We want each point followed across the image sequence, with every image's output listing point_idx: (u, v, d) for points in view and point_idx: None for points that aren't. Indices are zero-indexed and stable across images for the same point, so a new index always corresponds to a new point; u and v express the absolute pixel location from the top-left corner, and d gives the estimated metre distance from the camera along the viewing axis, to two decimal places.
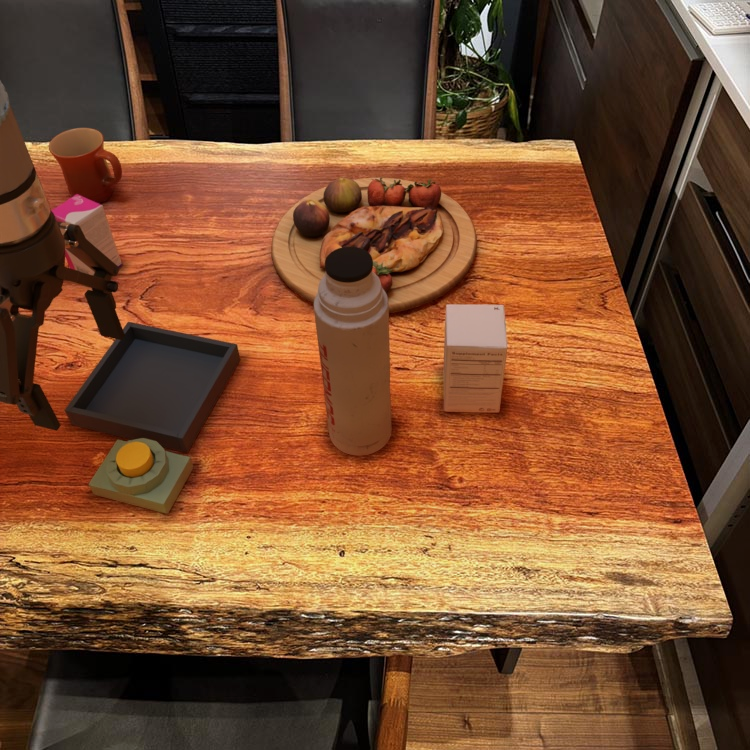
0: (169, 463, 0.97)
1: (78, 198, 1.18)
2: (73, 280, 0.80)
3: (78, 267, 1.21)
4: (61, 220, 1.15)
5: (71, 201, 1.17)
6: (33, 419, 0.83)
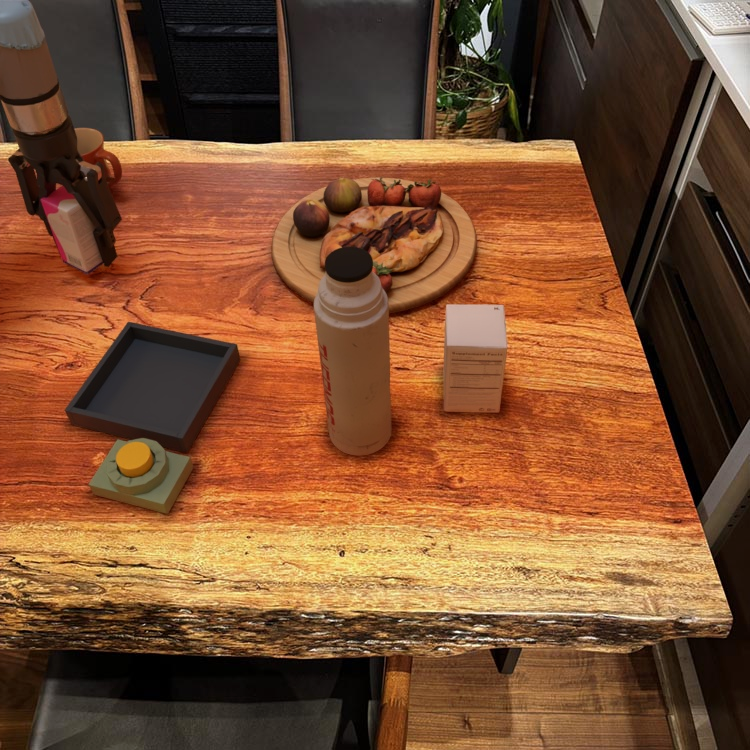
0: (169, 463, 0.97)
1: None
2: None
3: (69, 255, 1.19)
4: (54, 207, 1.13)
5: (64, 189, 1.15)
6: (107, 260, 1.20)
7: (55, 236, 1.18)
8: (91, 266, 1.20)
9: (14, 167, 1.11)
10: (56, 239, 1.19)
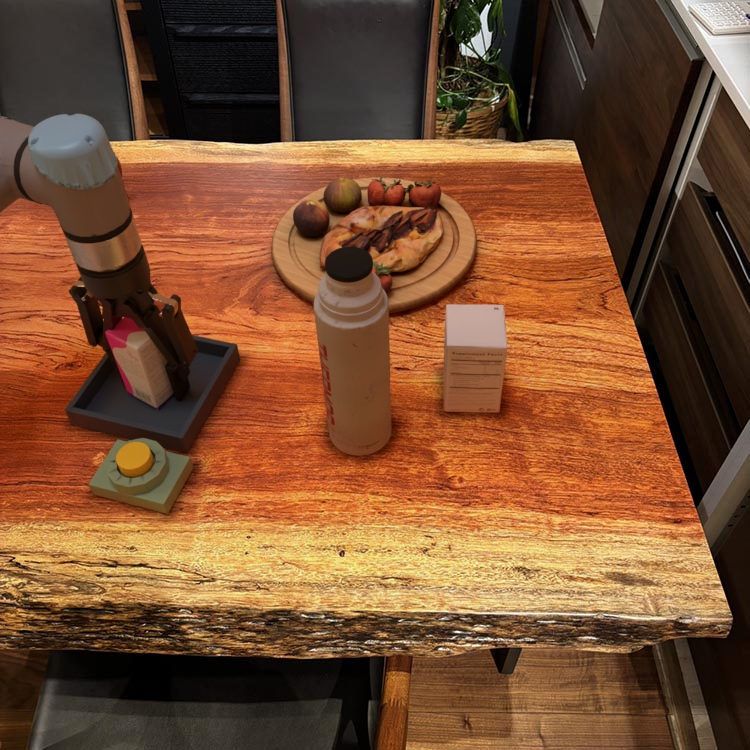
0: (169, 463, 0.97)
1: None
2: None
3: (137, 389, 1.03)
4: (121, 342, 0.97)
5: None
6: (180, 394, 1.04)
7: (121, 369, 1.02)
8: (162, 401, 1.04)
9: (75, 299, 0.96)
10: (122, 372, 1.03)
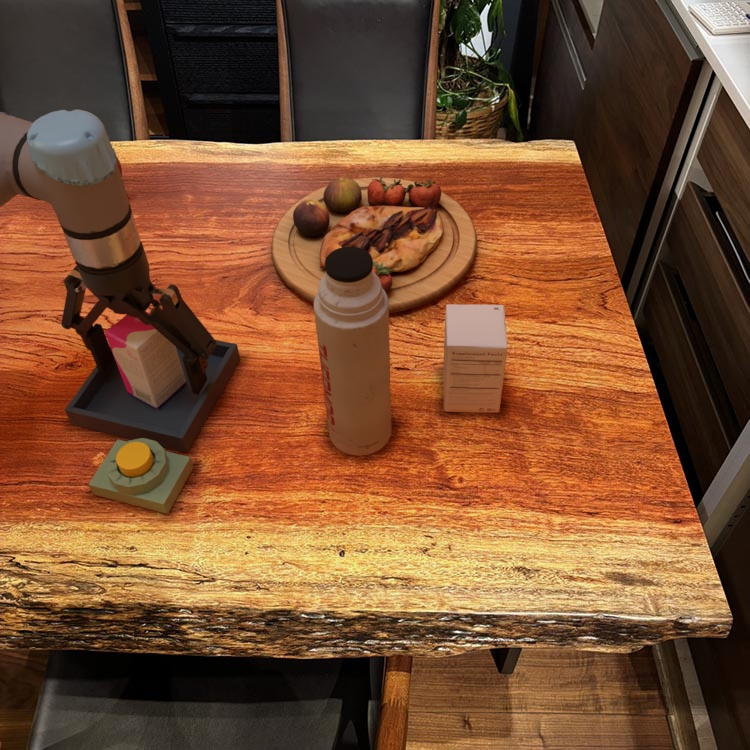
0: (169, 463, 0.97)
1: None
2: None
3: (137, 389, 1.03)
4: (121, 342, 0.97)
5: (131, 317, 1.00)
6: (197, 387, 1.02)
7: (120, 369, 1.02)
8: (162, 401, 1.04)
9: (68, 288, 0.95)
10: (121, 372, 1.03)
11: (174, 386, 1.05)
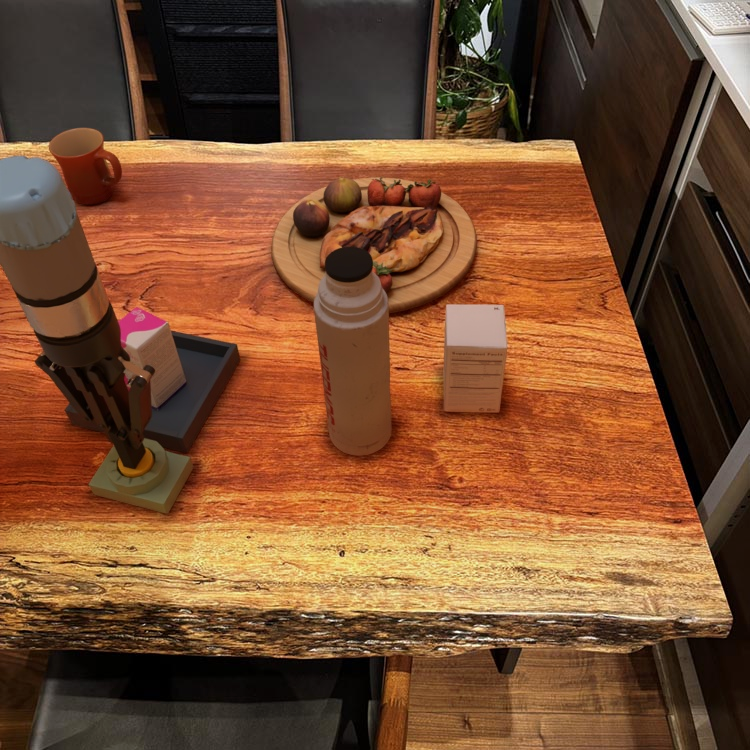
0: (169, 463, 0.97)
1: (139, 313, 1.00)
2: None
3: None
4: (121, 342, 0.97)
5: (131, 317, 1.00)
6: (133, 462, 0.93)
7: None
8: (162, 401, 1.04)
9: (45, 370, 0.83)
10: None
11: (174, 386, 1.05)
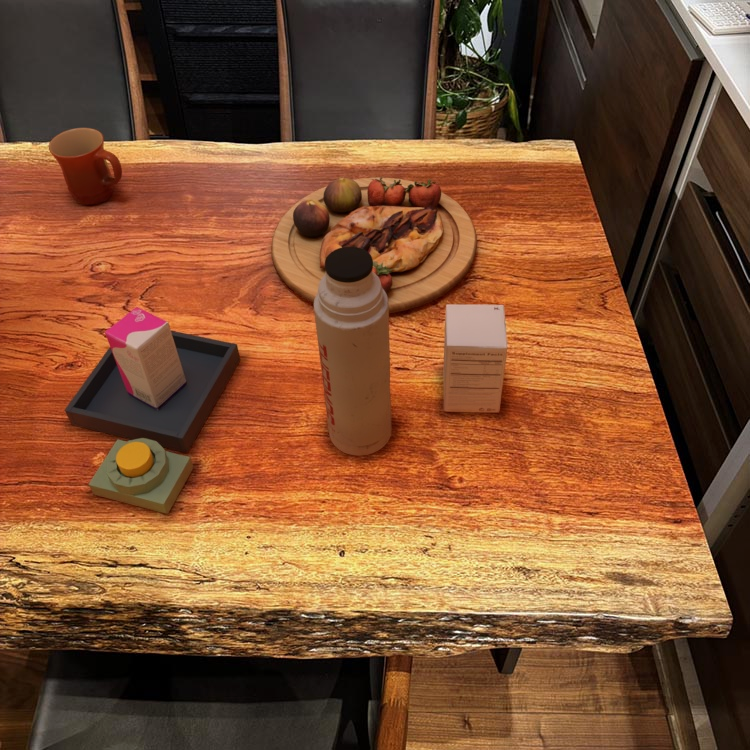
0: (169, 463, 0.97)
1: (139, 313, 1.00)
2: None
3: (137, 389, 1.03)
4: (121, 342, 0.97)
5: (131, 317, 1.00)
6: None
7: (120, 369, 1.02)
8: (162, 401, 1.04)
9: None
10: (121, 372, 1.03)
11: (174, 386, 1.05)
